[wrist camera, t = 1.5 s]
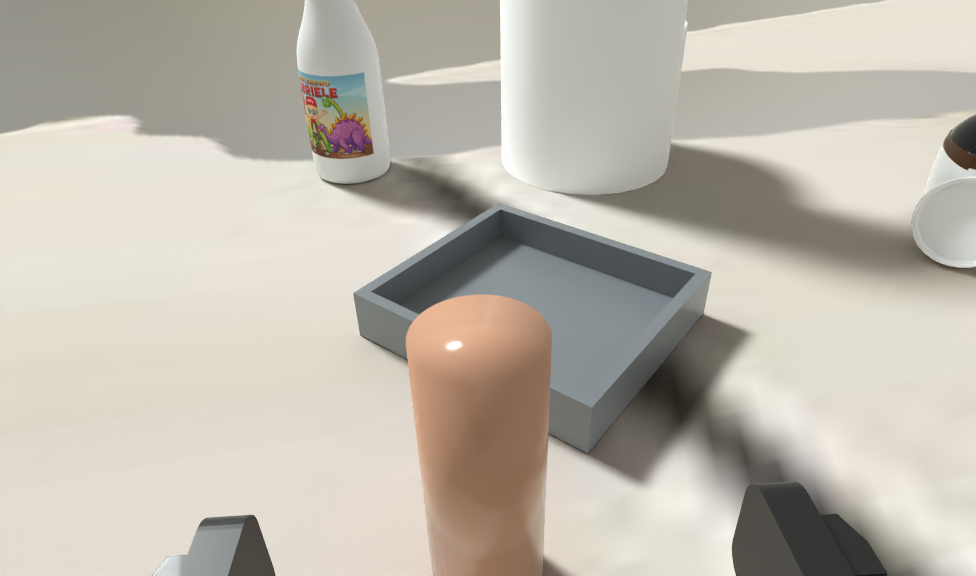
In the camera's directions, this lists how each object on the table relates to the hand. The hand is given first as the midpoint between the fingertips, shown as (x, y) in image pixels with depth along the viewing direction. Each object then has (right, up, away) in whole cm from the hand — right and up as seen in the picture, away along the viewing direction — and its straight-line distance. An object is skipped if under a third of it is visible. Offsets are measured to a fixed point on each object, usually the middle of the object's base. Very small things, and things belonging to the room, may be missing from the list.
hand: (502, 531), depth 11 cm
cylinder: (+10, +17, +59) cm, 62 cm away
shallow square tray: (+3, +1, +35) cm, 35 cm away
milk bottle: (-14, +16, +58) cm, 62 cm away
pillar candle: (0, -9, +20) cm, 22 cm away
